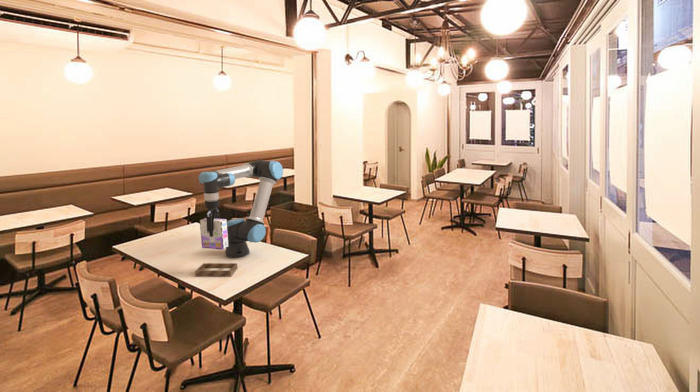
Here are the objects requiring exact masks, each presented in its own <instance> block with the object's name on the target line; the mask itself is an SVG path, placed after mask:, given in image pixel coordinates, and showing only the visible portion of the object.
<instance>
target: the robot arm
mask: <svg viewBox="0 0 700 392" xmlns="http://www.w3.org/2000/svg"><path fill="white" fill-rule="evenodd" d="M283 169H284V168H283V165H282V164H281V163H280V162H279V161H275V160H262V159H261V160H258V159H257V160H254V161H253V160H252V161H248V162H246V163H243V164H242V165H237V166H234V167H228V168H223V169H218V170H212V171H202V172H201V173H199V174H198V181H199V183H200V184H202V186H203V196H204V198H203V199H204V207H205V208H206V209H207V212H206V213H205V218H207V231H209V238H210V242H215V234H214V230H213V229H214V222H213V221H214V219H221V217H220V208H219V207H220V200H219V199H220V195H219V189H221V188H225V187H232V186H233V185H235V183H236V180H237V179H241V178H258V180H259V185H258V187H257V191H256V194H255V197H254V201H253V204H252V208H251V210H250V214H249V216H248V217H246V219H245V217H244V218H242V217H239V218H233V219H230V220H227V233H228V247H227V248H225V252H224V253H225V257H228V258H231V259H232V258H235V259H236V258H242V257H246V256H248V255H249V254H250V248H249V246H248V243H247V242H249V243H260V242H261V241H263V239H264V238H265V236H266V231H267V230H266V226H265V222H264V217H265V215H266V210H267V208H268V204H269V200H270V197H271V194H272V190H273V186H274V185H276V184H277V182H278V180H280V179H282V177H283V175H284V170H283Z"/></svg>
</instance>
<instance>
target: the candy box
mask: <svg viewBox="0 0 700 392" xmlns="http://www.w3.org/2000/svg"><path fill="white" fill-rule="evenodd" d="M227 221H228V220H227V219H226V218H220V219H214V221H213V222H214V229H213V230H214V234H215V242H210V238H209V231H207V217H204V218H202V219H200V220H199V228H200V238H201V239H200V240H201V248H202V249H212V250H226V248H227V247H228V233H227Z"/></svg>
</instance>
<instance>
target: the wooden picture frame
mask: <svg viewBox="0 0 700 392" xmlns="http://www.w3.org/2000/svg"><path fill="white" fill-rule="evenodd" d="M237 270H238V263H237V262H236V263H235V262H234V263H232V262H231V263H228V262H226V263H224V262H223V263H222V262H221V263H220V262H218V263H217V262H210V263H209V262H205V263H202V264H201V265H200V266H199V267H198V268H196V269H195V271H194V272H195V277H201V278H202V277H206V278H207V277H214V278H215V277H216V278H217V277H218V278H219V277H220V278H222V277H224V278H225V277H226V278H228V277H232V276H233V275H234V274H235V273H236V272H237Z"/></svg>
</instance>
